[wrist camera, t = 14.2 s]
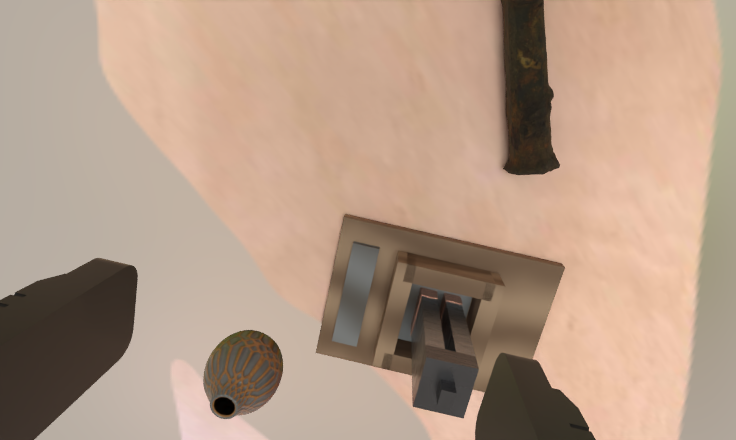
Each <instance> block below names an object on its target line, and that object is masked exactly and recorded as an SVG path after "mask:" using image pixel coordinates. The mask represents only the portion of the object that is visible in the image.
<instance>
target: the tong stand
mask: <svg viewBox="0 0 736 440" xmlns="http://www.w3.org/2000/svg"><path fill="white" fill-rule="evenodd" d="M564 269H565V267H564V266H563V265H562V264H561V263H557V262H553V261H548V260H544V259H539V258H535V257H531V256H526V255H522V254H518V253H513V252H509V251H504V250H500V249H496V248H491V247H487V246H483V245H478V244H474V243H469V242H465V241H461V240H456V239H452V238H448V237H443V236H439V235H434V234H430V233H426V232H421V231H417V230H413V229H408V228H404V227H399V226H395V225H391V224H386V223H382V222H378V221H373V220H369V219H364V218H360V217H356V216H351V215H347V214H345V216H344V220H343V225H342V230H341V234H340V239H339V244H338V249H337V254H336V258H335V263H334V268H333V273H332V278H331V282H330V287H329V292H328V297H327V302H326V306H325V311H324V316H323V321H322V326H321V330H320V335H319V340H318V345H317V349H316V353H320V354H324V355H328V356H332V357H337V358H341V359H345V360H349V361H354V362H358V363H362V364H367V365H371V366H374V367H379V368H383V369H387V370H391V371H396V372H400V373H404V374H409V375H412V351H411V335H410V326H411V322H412V318H413V315H414V311H415V307H416V303H417V299H418V296H419V292H420V288H421V287H422V288H426V289H430V290H435V291H437V295H438V307H439V310H440V306H441V303H442V299H443V296H444V293H448V294H452V295H457V296H461V300H462V307H463V311H464V314H465V318H466V322H467V326H468V330H469V333H470V337H471V341H472V345H473V348H474V352H475V356H476V360H477V363H478V367H479V371H478V374H477V377H476V380H475V383H474V387H473V390H478V391H482V392H485V391H486V388H487V385H488V382H489V379H490V376H491V373H492V370H493V367H494V364H495V361H496V359H497V357H498V355H499V354H500V353H507V354H511V355H516V356H520V357H524V358H528V359H533V356H534V353H535V350H536V347H537V344H538V342H539V339H540V336H541V333H542V330H543V328H544V325H545V322H546V319H547V316H548V314H549V311H550V308H551V305H552V302H553V300H554V297H555V294H556V291H557V288H558V286H559V283H560V280H561V277H562V274H563V272H564Z"/></svg>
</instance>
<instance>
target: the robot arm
mask: <svg viewBox="0 0 736 440" xmlns="http://www.w3.org/2000/svg"><path fill="white" fill-rule="evenodd" d="M137 277H138V276H137V270H136V268H135V267H134V266H132V265H127V264H123V263H119V262H114V261H110V260H106V259H102V258H96V259H93V260H91V261H90V262H88V263H86V264H84V265H82V266H80V267H78V268H77V269H75V270H73V271H71V272H69V273H67V274H63V275H59V276H55V277H51V278H47V279H44V280H40V281H36V282H35V283H33V284H31V285H29V286H27V287H25V288H23V289H21V290H19V291H17V292H16V293H15V295H9V296H7V297H5V298H3V299H2V300H0V440H34V439H35V438H36V437H37V436H38V435H39V434H40V433H41V432H43V431H44V430H45V429H46V428H47V427H48V426H49V425H50V424H51V423H52V422H53V421H54V420H55V419H56V418H58V417H59V416H60V415H61V414H62V413H63V412H64V411H65V410H66V409H67V408H68V407H69V406H70V405H71V404H73V402H74V401H76V400H77V399H78V398H79V397H80V396H81V395H82V394H83V393H84V392H85V391H86V390H87V389H89V388H90V387H91V386H92V385H93V384H94V383H95V382H96V381H97V380H98V379H99V378H100V377H101V376H102V375H103V374H104V373H106V372H107V371H108V370H109V369H110V368H111V367H112V366H113V365H114V364H115V363H116V362H117V361H118V360H119V359H120V358H121V357H122V356H123V354H124V353H125V351H126V349H127V348H128V346H129V343H130V341H131V338H132V333H133V325H134V315H135V302H136V290H137ZM475 440H595V438H594V436H593V434H592V432H589V427H588V425H587V423H586V421H585V420H584V418H583V416H582V414H581V412H580V410H579V409H578V408H577V407H576V406H575V405H574V404H573V403H572V402H571V401H570V400H569V399H568V398H567V397H566V396H565V395H564V394H563V393H562V392H561V391H560V390H558V389H554V388H551V386H550V384H549V382H548V380H547V378H546V376H545V374H544V372H543V369H542V367H541V365H540V364H539V362H538V361H537V360H533V359H528V358H524V357H520V356H516V355H511V354H507V353H500V354H499V355H498V357H497V359H496V361H495V364H494V367H493V370H492V373H491V376H490V379H489V382H488V385H487V388H486V391H485V394H484V397H483V400H482V403H481V406H480V409H479V412H478V416H477V421H476V430H475Z"/></svg>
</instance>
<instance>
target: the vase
mask: <svg viewBox="0 0 736 440" xmlns="http://www.w3.org/2000/svg"><path fill="white" fill-rule="evenodd" d="M282 372H283V359H282V355H281V352H280V349H279V347H278V345H277V344H276V343H275V341H274V340H273V339H271V338H270V337H269V336H267V335H266V334H264V333H261V332H259V331H253V330H244V331H240V332H237V333H234V334H232V335H230V336H228V337H227V338H225V339H224V340H223V341H222V342H221V343H220V344H218V346H217V347H216V348H215V349H214V350H213V352H212V353H211V355H210V357H209V359H208V361H207V364H206V367H205V371H204V379H203V381H204V389H205V393H206V395H207V397H208V399H209V401H210V408H211V410H212V412H213V413H214V414H215V415H216V416H217V417H219V418H222V419H230V418H233V417H234V416H236V415H245V414H249V413H252V412H254V411H256V410H258V409H259V408H261V407H262V406H263V405H264V404H266V402H267V401H269V400H270V398H271V397H272V396H273V395H274V393H275V391H276V390H277V388H278V386H279V383H280V380H281V377H282Z"/></svg>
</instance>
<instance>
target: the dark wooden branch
mask: <svg viewBox="0 0 736 440" xmlns="http://www.w3.org/2000/svg"><path fill="white" fill-rule="evenodd" d="M501 2H502V5H503V15H504V50H505V72H506V87H507V91H506V98H507V99H506V115H507V120H508V130H509V153H510V156H509V160H508V163H507V164H506V165H505V166H504V168H503V169H505V170H506V171H507V172H508V173H511V174H516V175H530V174H545V173H547V172H548V171H552V170H554V169H556V168H559V167H560V164H559V162H558V160H557V158H556V156H555V153H554V152H553V148H552V145H551V127H550V113H551V100H552V99H553V97H554V94H553V90H552V89H551V87H550V86H549V84H548V72H547V52H546V37H545V24H544V0H501Z"/></svg>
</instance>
